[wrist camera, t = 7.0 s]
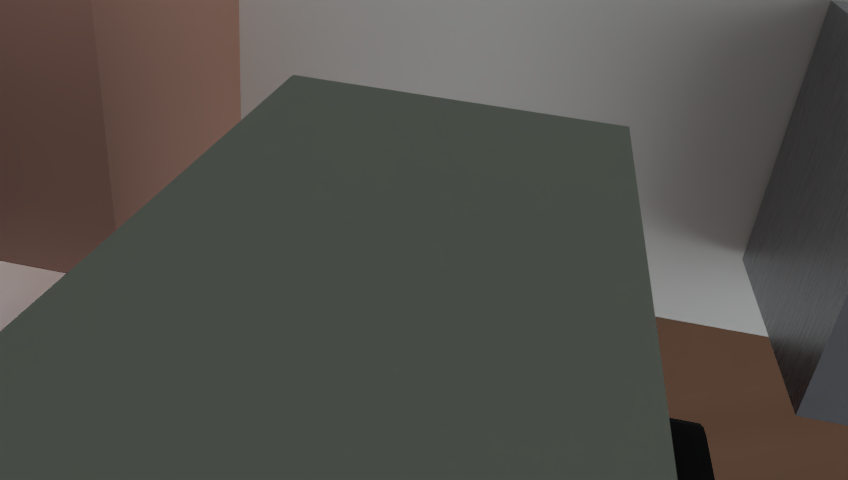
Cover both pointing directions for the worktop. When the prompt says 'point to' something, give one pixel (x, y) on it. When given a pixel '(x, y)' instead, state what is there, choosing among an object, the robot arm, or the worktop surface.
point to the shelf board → (590, 99)
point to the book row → (105, 113)
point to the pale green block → (357, 308)
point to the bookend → (809, 235)
